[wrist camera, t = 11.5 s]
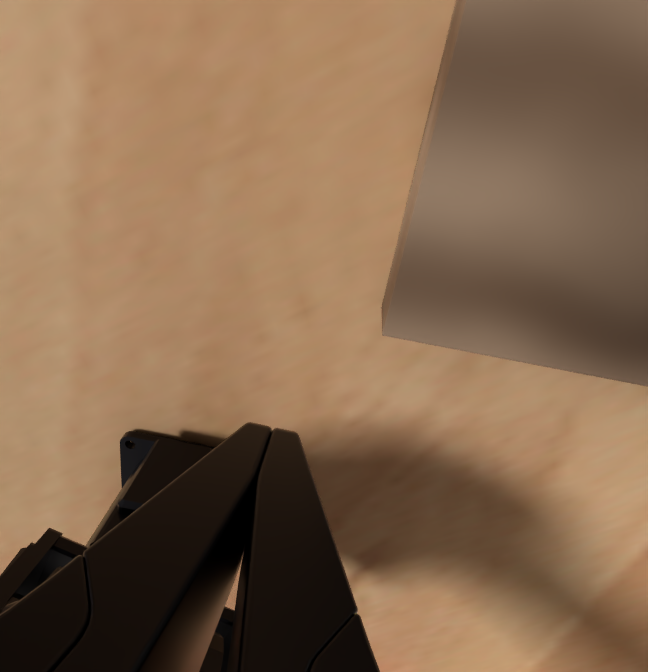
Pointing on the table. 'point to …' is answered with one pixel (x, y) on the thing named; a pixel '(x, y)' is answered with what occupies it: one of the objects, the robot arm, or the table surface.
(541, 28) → the brown wooden board
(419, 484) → the table surface
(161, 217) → the table surface
